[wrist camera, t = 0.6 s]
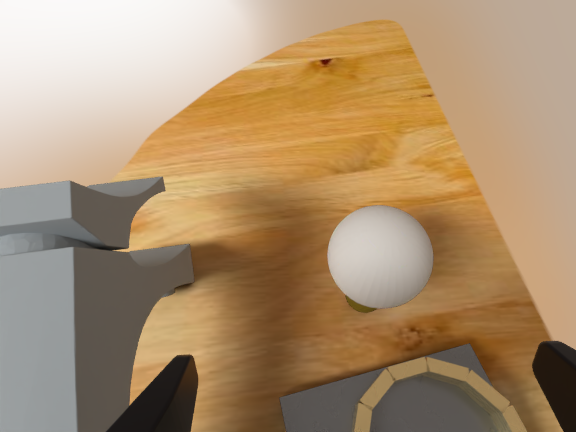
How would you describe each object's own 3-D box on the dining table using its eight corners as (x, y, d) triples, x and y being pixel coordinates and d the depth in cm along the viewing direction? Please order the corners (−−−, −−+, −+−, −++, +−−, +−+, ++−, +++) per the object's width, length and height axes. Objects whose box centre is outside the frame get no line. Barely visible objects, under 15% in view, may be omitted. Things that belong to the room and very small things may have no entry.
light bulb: (351, 250, 28) (370, 168, 20) (416, 293, 26) (469, 220, 18) (306, 305, 26) (307, 237, 17) (374, 357, 23) (413, 308, 15)
